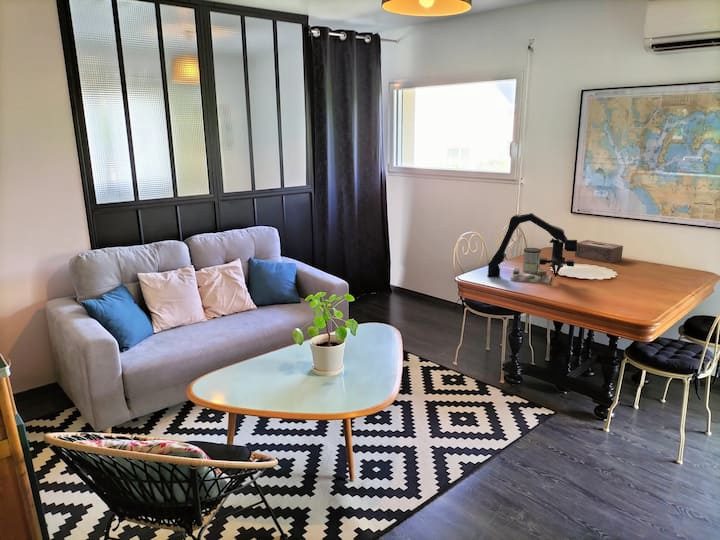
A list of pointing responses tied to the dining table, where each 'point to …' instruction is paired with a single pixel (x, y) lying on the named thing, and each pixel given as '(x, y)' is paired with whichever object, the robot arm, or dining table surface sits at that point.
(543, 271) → the gauge carriage
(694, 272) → the dining table surface
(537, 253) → the coffee can
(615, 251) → the tissue box cover
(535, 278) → the base
